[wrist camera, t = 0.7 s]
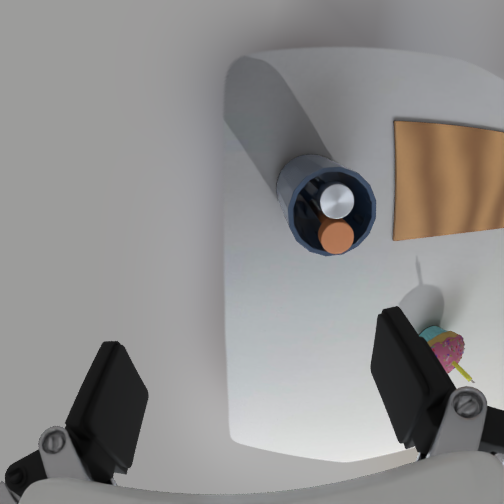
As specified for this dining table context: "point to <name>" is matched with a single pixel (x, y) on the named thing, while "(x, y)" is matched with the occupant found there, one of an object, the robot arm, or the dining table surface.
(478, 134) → the placemat
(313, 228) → the cup
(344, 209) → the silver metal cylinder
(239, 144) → the dining table surface
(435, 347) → the cupcake
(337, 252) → the tan cylinder
